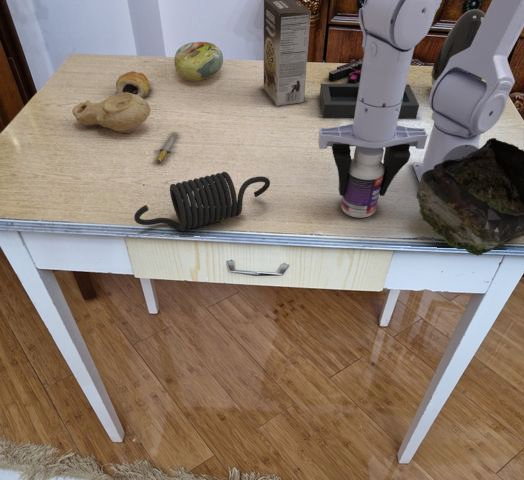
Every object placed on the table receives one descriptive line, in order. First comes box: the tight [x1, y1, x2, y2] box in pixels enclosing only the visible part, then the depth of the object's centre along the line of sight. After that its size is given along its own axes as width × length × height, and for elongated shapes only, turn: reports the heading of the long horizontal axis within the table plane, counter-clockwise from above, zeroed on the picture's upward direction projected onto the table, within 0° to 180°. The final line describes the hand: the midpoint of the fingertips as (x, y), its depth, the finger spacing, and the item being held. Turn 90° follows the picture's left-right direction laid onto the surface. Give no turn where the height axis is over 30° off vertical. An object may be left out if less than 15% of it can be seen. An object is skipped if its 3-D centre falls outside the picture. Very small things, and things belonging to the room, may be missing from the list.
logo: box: [328, 59, 363, 84], centre depth 103 cm, size 13×2×10 cm
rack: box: [319, 82, 420, 119], centre depth 94 cm, size 10×18×2 cm, turn 89°
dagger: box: [156, 136, 175, 164], centre depth 83 cm, size 11×1×2 cm
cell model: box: [173, 41, 224, 82], centre depth 103 cm, size 11×8×15 cm
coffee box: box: [263, 0, 312, 107], centre depth 92 cm, size 9×6×16 cm
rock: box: [415, 137, 524, 257], centre depth 65 cm, size 18×20×10 cm
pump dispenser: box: [430, 8, 486, 86], centre depth 92 cm, size 10×10×15 cm
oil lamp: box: [71, 92, 151, 134], centre depth 86 cm, size 11×14×5 cm
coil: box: [133, 171, 271, 232], centre depth 67 cm, size 7×20×9 cm
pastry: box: [115, 70, 150, 98], centre depth 97 cm, size 9×7×4 cm
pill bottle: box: [341, 146, 385, 219], centre depth 68 cm, size 5×5×10 cm
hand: (361, 192), depth 70 cm, fingers closed on pill bottle, 5 cm apart
